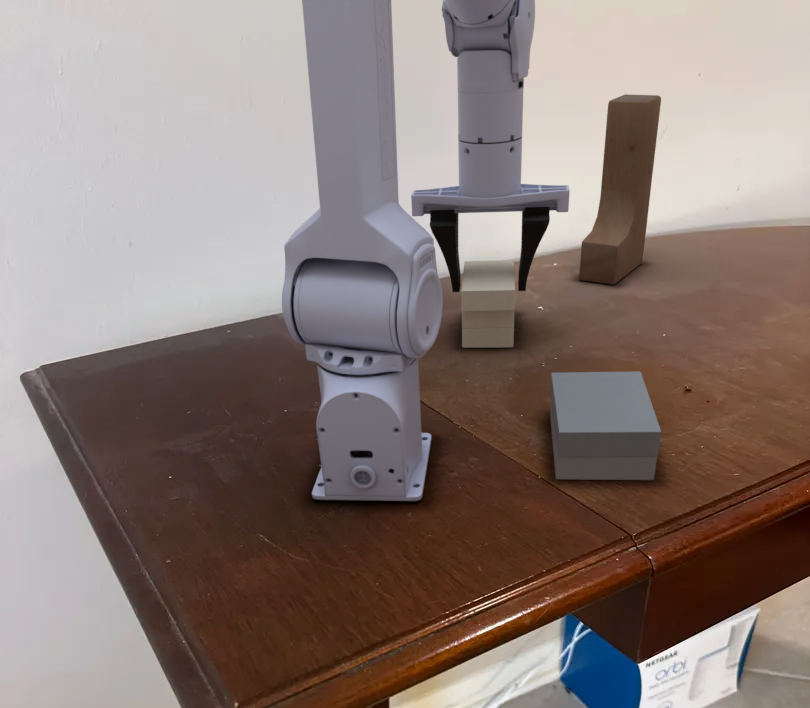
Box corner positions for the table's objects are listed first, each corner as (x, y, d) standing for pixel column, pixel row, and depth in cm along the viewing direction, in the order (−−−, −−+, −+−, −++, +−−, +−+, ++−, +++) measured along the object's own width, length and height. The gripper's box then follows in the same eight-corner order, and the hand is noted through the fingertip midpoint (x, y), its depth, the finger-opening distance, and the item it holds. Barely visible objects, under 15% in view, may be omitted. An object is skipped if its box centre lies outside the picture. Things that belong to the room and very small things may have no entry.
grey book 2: (653, 480, 59) (657, 456, 57) (555, 479, 59) (557, 456, 58) (636, 416, 67) (639, 394, 65) (550, 416, 67) (551, 394, 66)
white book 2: (513, 347, 79) (513, 328, 78) (462, 348, 80) (461, 328, 79) (513, 314, 87) (513, 296, 85) (466, 315, 87) (466, 296, 86)
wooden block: (614, 286, 92) (632, 108, 82) (577, 280, 94) (590, 106, 84) (643, 263, 98) (662, 94, 88) (607, 258, 100) (622, 93, 90)
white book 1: (513, 328, 78) (514, 307, 77) (461, 328, 79) (461, 308, 78) (513, 296, 85) (514, 277, 84) (466, 296, 86) (465, 277, 85)
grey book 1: (657, 456, 57) (661, 431, 56) (557, 457, 58) (559, 432, 57) (637, 394, 65) (640, 371, 64) (549, 395, 66) (551, 372, 65)
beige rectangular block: (514, 310, 76) (515, 289, 75) (461, 311, 77) (461, 290, 76) (513, 279, 84) (513, 259, 83) (464, 280, 84) (464, 261, 83)
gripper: (569, 126, 75) (561, 273, 83) (414, 133, 77) (420, 276, 85) (574, 141, 70) (564, 297, 77) (406, 147, 71) (413, 300, 79)
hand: (489, 288), depth 81 cm, fingers open, 6 cm apart
